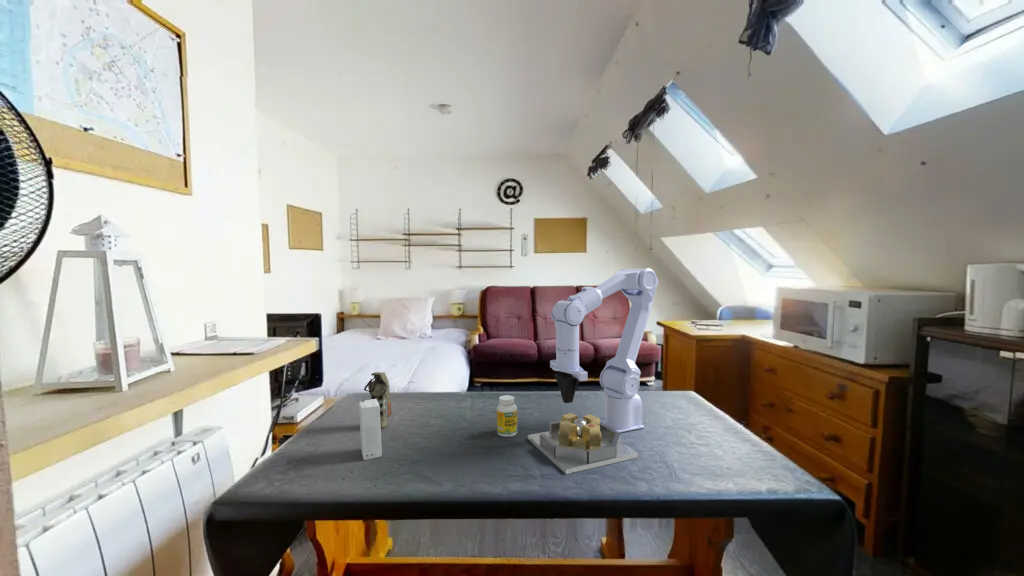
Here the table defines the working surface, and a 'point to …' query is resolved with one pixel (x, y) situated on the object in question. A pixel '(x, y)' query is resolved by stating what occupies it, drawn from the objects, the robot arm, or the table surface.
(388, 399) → the grenade model
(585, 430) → the gold block ring
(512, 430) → the supplement bottle
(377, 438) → the skincare box
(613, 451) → the flange plate
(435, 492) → the table surface
